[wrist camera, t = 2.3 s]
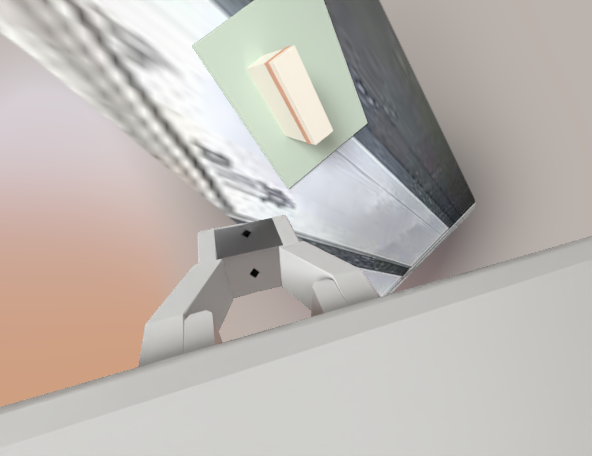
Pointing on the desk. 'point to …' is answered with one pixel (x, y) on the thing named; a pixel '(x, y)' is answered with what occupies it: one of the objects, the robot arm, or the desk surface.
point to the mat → (316, 59)
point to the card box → (290, 95)
